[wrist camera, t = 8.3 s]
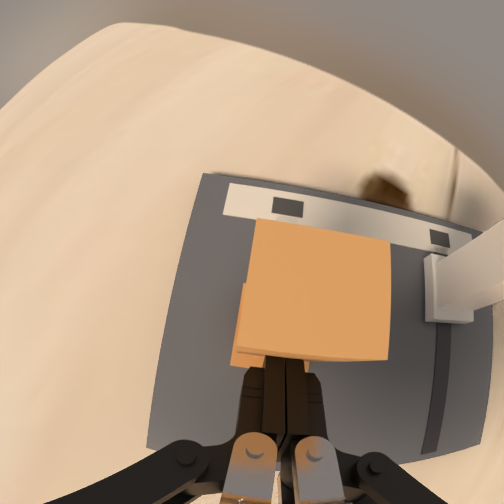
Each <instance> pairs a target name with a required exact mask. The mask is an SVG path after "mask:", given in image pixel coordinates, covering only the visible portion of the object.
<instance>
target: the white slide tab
mask: <svg viewBox="0 0 504 504" xmlns="http://www.w3.org/2000/svg"><path fill="white" fill-rule="evenodd" d="M424 273H425V322H440V323H457V324H466V323H470V322H473V321H474V313H473V311H474V310H477V309H480V308H483V307H486V306H488V305H491V304H494V303H497V302H499V301H502V300H504V218H503V219H502V220H501V221H499V222H498V223H497V224H495V225H494V226H492V227H491V228H489V229H488V230H487V231H485V232H484V233H482V234H481V235H479V236H478V237H476V238H475V239H473V240H472V241H470V242H469V243H467V244H466V245H464V246H463V247H461V248H460V249H458V250H457V251H455V252H453V253H452V254H450V255H449V256H447V257H445V256H441V255H436V254H430V255H428V256H427V257H425V258H424Z"/></svg>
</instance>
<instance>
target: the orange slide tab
mask: <svg viewBox="0 0 504 504" xmlns="http://www.w3.org/2000/svg"><path fill="white" fill-rule="evenodd" d="M390 314H391V252H390V241H385V240H380V239H375V238H370V237H365V236H359V235H354V234H349V233H343V232H338V231H332V230H327V229H321V228H316V227H310V226H304V225H298V224H292V223H286V222H280V221H274V220H268V219H261V218H257V219H256V225H255V231H254V238H253V244H252V250H251V256H250V262H249V269H248V275H247V281H246V283H243V288H242V294H241V300H240V306H239V312H238V318H237V325H236V331H235V337H234V343H233V349H232V355H231V362H230V365H231V366H237V367H243V368H250V366H253V367H260V368H262V366H263V362H264V358H265V355H267V356H275V357H284V358H293V359H302V360H304V366H305V372H308V369H309V362H350V361H377V360H388V348H389V334H390Z"/></svg>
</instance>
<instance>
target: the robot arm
mask: <svg viewBox="0 0 504 504" xmlns="http://www.w3.org/2000/svg"><path fill="white" fill-rule="evenodd" d="M276 462H281V471H280V473H279V475H278V478H277V484H278V501H279V504H448V503H446V502H445V501H444V500H442V499H441V498H440V497H438V496H437V495H435V494H434V493H433V492H432V491H430V490H429V489H428V488H426V487H425V486H424V485H422V484H421V483H420V482H419V481H417V480H416V479H415V478H413V477H412V476H411V475H410V474H408V473H407V472H406V471H405V470H403V469H402V468H401V467H400V466H399V465H397V464H396V463H395V462H394V461H392V460H391V459H390V458H389V457H388V456H386V455H385V454H383V453H380V452H369V453H366V454H364V455H363V456H362V457H360V456H356V455H352V454H348V453H344V452H341V451H339V450H338V449H336V448H335V447H334V446H333V445H332V444H331V443H330V441H329V439H328V436H327V428H326V419H325V411H324V404H323V396H322V388H321V382H320V381H319V379H318V378H317V376H316V375H315V373H308V372H305V366H304V360H302V359H293V358H284V357H275V356H267V355H265V358H264V362H263V366H262V368H260V367H253V366H250V368H249V369H248V370H247V372H246V373H245V374H244V378H243V383H242V389H241V394H240V400H239V407H238V415H237V423H236V430H235V435H234V437H233V438H232V439H230V440H229V441H228V442H226V443H223V444H220V445H213V446H202V445H201V444H199V443H197V442H195V441H192V440H186V439H183V440H177V441H174V442H172V443H170V444H169V445H167V446H165V447H163V448H162V449H160V450H158V451H157V452H155V453H153V454H151V455H149V456H148V457H146V458H144V459H142V460H140V461H138V462H137V463H135V464H133V465H131V466H129V467H127V468H125V469H123V470H121V471H119V472H117V473H115V474H113V475H111V476H109V477H107V478H105V479H103V480H101V481H98V482H96V483H94V484H92V485H90V486H87V487H85V488H83V489H80V490H78V491H76V492H73V493H71V494H68V495H66V496H63V497H60V498H58V499H55V500H52V501H50V502H47V503H44V504H190V503H191V502H193V501H194V500H196V499H197V498H199V497H200V496H201V495H206V494H215V493H222V496H221V500H220V504H271V498H272V491H273V483H274V476H275V468H276Z"/></svg>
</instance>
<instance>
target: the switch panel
mask: <svg viewBox="0 0 504 504" xmlns="http://www.w3.org/2000/svg"><path fill="white" fill-rule="evenodd" d="M257 218H261V219H268V220H274V221H280V222H286V223H292V224H298V225H304V226H310V227H316V228H321V229H327V230H332V231H338V232H343V233H349V234H354V235H359V236H365V237H370V238H375V239H380V240H385V241H390V252H391V314H390V334H389V348H388V360H377V361H350V362H309V369H308V373H315V375H316V376H317V378H318V379H319V381H320V382H321V388H322V396H323V404H324V411H325V419H326V428H327V436H328V439H329V441H330V443H331V444H332V445H333V446H334V447H335V448H336V449H338V450H339V451H341V452H344V453H348V454H352V455H356V456H360V457H362V456H363V455H364V454H366V453H369V452H380V453H383V454H385V455H386V456H388V457H389V458H390V459H391V460H392V461H394V462H395V463H396V464H397V465H399V464H405V463H410V462H415V461H420V460H425V459H429V458H433V457H437V456H441V455H445V454H449V453H453V452H456V451H459V450H463V449H466V448H469V447H472V446H475V445H478V444H480V441H481V437H482V432H483V427H484V422H485V417H486V411H487V404H488V397H489V389H490V380H491V367H492V348H493V315H492V304H491V305H488V306H486V307H483V308H480V309H477V310H474V311H473V313H474V321H473V322H470V323H466V324H457V323H440V322H425V273H424V258H425V257H427V256H428V255H430V254H436V255H441V256H445V257H447V256H449V255H450V254H452V253H453V252H455V251H457V250H458V249H460V248H461V247H463V246H464V245H466V244H467V243H469V242H470V241H472V240H473V239H475V238H476V237H478V236H479V235H481V234H482V233H483V232H479V231H476V230H473V229H470V228H467V227H464V226H460V225H457V224H454V223H450V222H447V221H443V220H440V219H436V218H433V217H429V216H425V215H422V214H418V213H414V212H410V211H406V210H403V209H399V208H395V207H390V206H386V205H382V204H378V203H374V202H369V201H365V200H360V199H356V198H351V197H346V196H342V195H337V194H332V193H327V192H322V191H317V190H311V189H306V188H300V187H295V186H289V185H283V184H277V183H271V182H265V181H258V180H251V179H245V178H237V177H230V176H223V175H215V174H206V173H203V175H202V178H201V181H200V185H199V188H198V192H197V195H196V199H195V202H194V206H193V210H192V213H191V217H190V221H189V224H188V228H187V232H186V236H185V240H184V244H183V248H182V252H181V256H180V260H179V264H178V268H177V273H176V277H175V281H174V286H173V290H172V295H171V299H170V304H169V309H168V314H167V319H166V323H165V329H164V334H163V339H162V344H161V350H160V355H159V361H158V367H157V373H156V379H155V385H154V392H153V399H152V405H151V413H150V420H149V428H148V437H147V445H146V448H149V449H152V450H156V451H158V450H160V449H162V448H163V447H165V446H167V445H169V444H170V443H172V442H174V441H177V440H183V439H186V440H192V441H195V442H197V443H199V444H201V445H202V446H213V445H220V444H223V443H226V442H228V441H229V440H230V439H232V438H233V437H234V435H235V430H236V423H237V415H238V407H239V400H240V394H241V389H242V383H243V378H244V374H245V373H246V372H247V370H248V369H249V368H243V367H237V366H231V365H230V362H231V355H232V349H233V343H234V337H235V331H236V325H237V318H238V312H239V306H240V300H241V294H242V288H243V283H246V281H247V275H248V269H249V262H250V256H251V250H252V244H253V238H254V231H255V225H256V219H257ZM275 471H281V462H276V468H275Z"/></svg>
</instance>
